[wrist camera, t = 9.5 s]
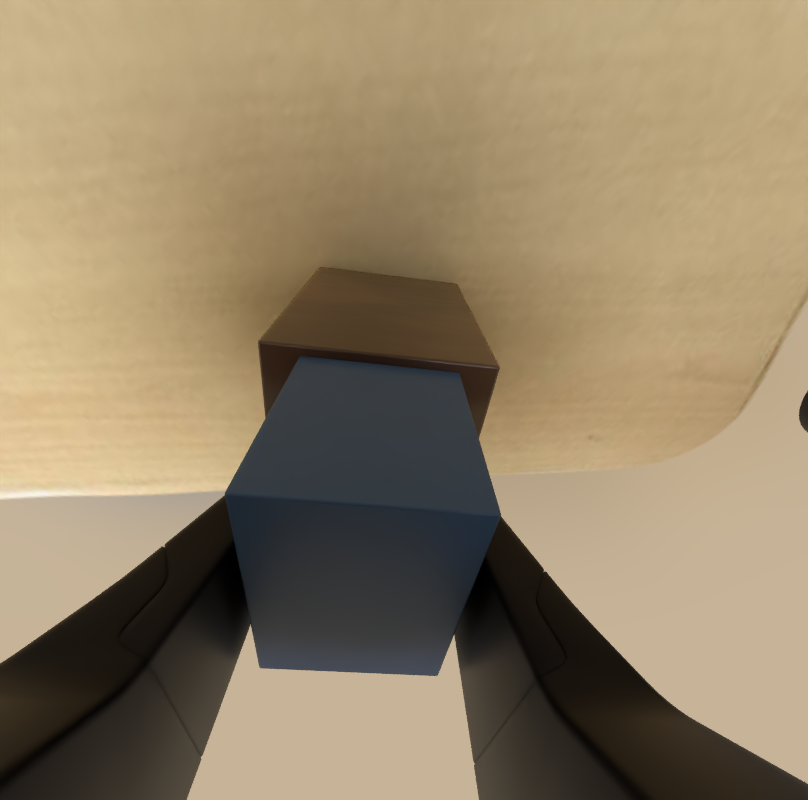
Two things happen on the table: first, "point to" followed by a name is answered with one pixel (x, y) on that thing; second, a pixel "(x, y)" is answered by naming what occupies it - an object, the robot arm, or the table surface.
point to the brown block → (380, 331)
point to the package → (361, 518)
